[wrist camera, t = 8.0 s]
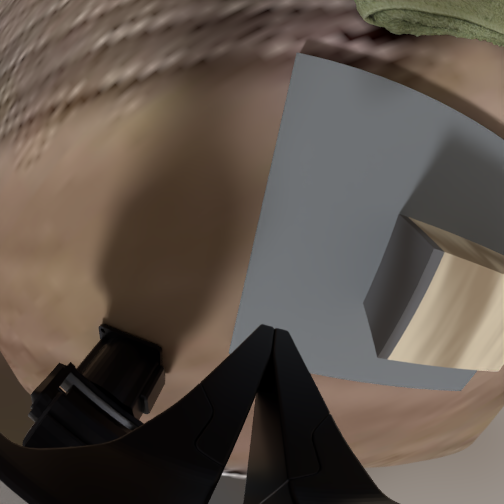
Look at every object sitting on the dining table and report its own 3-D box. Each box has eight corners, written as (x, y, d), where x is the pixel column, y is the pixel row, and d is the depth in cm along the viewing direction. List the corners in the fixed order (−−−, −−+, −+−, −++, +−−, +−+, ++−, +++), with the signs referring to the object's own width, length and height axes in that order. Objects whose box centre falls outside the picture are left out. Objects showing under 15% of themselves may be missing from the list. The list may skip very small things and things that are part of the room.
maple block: (377, 357, 12) (498, 371, 12) (434, 248, 10) (547, 293, 9) (362, 302, 17) (471, 327, 16) (398, 213, 14) (508, 257, 14)
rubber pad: (232, 343, 21) (228, 353, 20) (297, 58, 13) (296, 52, 12) (457, 382, 20) (460, 390, 19) (555, 186, 12) (564, 189, 10)
